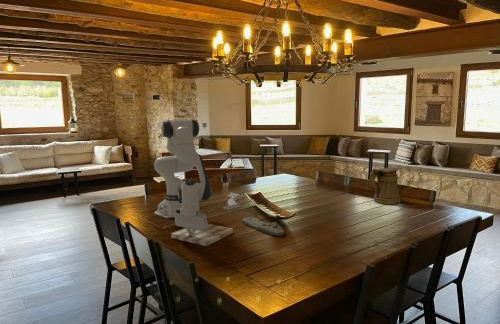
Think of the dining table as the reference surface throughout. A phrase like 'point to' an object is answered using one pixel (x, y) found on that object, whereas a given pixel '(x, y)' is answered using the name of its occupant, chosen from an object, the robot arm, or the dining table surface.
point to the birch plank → (196, 237)
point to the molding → (233, 201)
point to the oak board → (219, 230)
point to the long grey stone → (264, 226)
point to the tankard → (385, 186)
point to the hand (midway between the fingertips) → (191, 236)
